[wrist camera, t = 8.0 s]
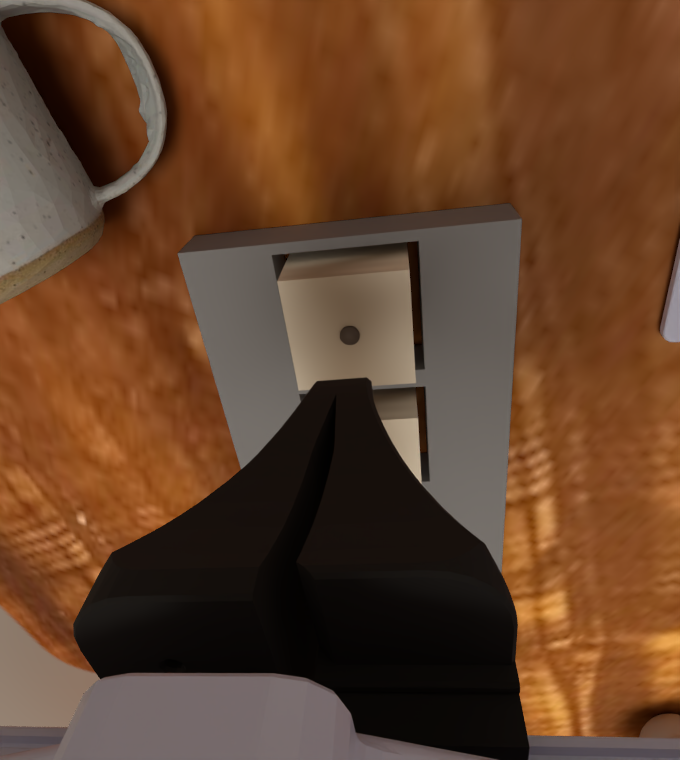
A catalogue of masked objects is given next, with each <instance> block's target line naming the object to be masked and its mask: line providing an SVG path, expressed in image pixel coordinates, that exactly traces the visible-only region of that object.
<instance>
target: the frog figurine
mask: <svg viewBox="0 0 680 760" xmlns="http://www.w3.org/2000/svg"><path fill="white" fill-rule="evenodd" d="M639 737H641V738H680V715H678V714H661V715H658V716H655V717H653V718H652V719H650V720H649V721H648V722H647V723H646V724H645V725H644V727H643V728H642V730H641V733H640V736H639Z"/></svg>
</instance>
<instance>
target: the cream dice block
mask: <svg viewBox="0 0 680 760" xmlns="http://www.w3.org/2000/svg"><path fill="white" fill-rule="evenodd" d="M373 397H374V403H375V406H376V409H377V411H378V414H379V416H380V418H381V421H382V423H383V425H384V427H385V429H386V431H387V433H388V435H389V437H390V439H391V441H392V442H393V444H394V446H395V448H396V449H397V451H398V453H399V454H400V456H401V457H402V459H403V460H404V462H405V463H406V465H407V466H408V467H409V469H410V470H411V472H412V473H413V474H414V475H415V477H416V478H417V479H418V480H419V482H420V483H421V484H422V481H421V463H420V445H419V428H418V413H417V401H416V388H415V387H407V388H391V389H375V390H373Z"/></svg>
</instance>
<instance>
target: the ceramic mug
mask: <svg viewBox="0 0 680 760" xmlns="http://www.w3.org/2000/svg"><path fill="white" fill-rule="evenodd" d="M40 12H53V13H63V14H71V15H75V16H78V17H81V18H84V19H87V20H90V21H91V22H93V23H95V25H96V26H98V27H101V28H103V29H104V30H106V31H107V32H108V33H109V34H110V35H111V36H112V37H113V39H114V40H115V41H116V43H117V44H118V46H119V47H120V50H121V52H122V54H123V56H124V58H125V60H126V63H127V65H128V67H129V69H130V72H131V74H132V77H133V79H134V82H135V84H136V87H137V90H138V93H139V97H140V101H141V102H140V108H139V112H140V114H141V116H142V117H143V119H144V121H145V122H146V123H147V136H148V139H149V143H148V145H147V147H146V149H145V151H144V153H143V155H142V157H141V158H140V160H139V161H138V163H136V164H135V165H134V166H133V167H132V168H131V170H130V171H128V172H127V173H126V174H124V175H123V176H121V177H120V178H119V179H118V180H116V181H114V182H112V183H109V184H107V185H105V186H102V187H95V186H93V184H92V182H91V180H90V179H89V177H88V175H87V173H86V172H85V170H84V168H83V166H82V164H81V162H80V161H79V160H78V157H77V156H76V155H75V153H74V152H73V150H72V149H71V148H70V146H69V144H68V142H67V140H66V138H65V136H64V135H63V133H62V131H61V130H59V128H58V127H57V125H56V123H55V121H54V119H53V118H52V116H51V115H50V112H49V110H48V109H47V107H46V105H45V103H44V101H43V99H42V98H41V96H40V95H39V93H38V91H37V89H36V87H35V85H34V84H33V82H32V80H31V78H30V76H29V74H28V73H27V71H26V69H25V68H24V66H23V64H22V62H21V60H20V59H19V57H18V53H17V52H16V51H15V49H14V48H13V46H12V44H11V43H10V41H9V40H8V38H7V36H6V34H5V32H4V29H3V28H2V27H1V21H3V20H4V19H6V18H7V17H12V16H17V15H21V14H29V13H40ZM166 128H167V109H166V103H165V98H164V95H163V91H162V88H161V84H160V81H159V78H158V75H157V73H156V71H155V69H154V66H153V64H152V62H151V59H150V57H149V55H148V54H147V52H146V50H145V49H144V47H143V46H142V44H141V42H140V41H139V39H138V38H137V36H136V35H135V34H134V33H133V32H132V31H131V29H129V28H128V27H127V26H126V25H125V24H123V23H122V22H121V21H120V20H119V19H117V18H116V17H115V16H114V15H113V14H112V13H110V12H109V11H107V10H105V9H103V8H101V7H99V6H97V5H95V4H93V3H91V2H89V1H87V0H0V304H1V303H3V302H5V301H7V300H9V299H11V298H13V297H15V296H17V295H19V294H21V293H22V292H24V291H26V290H28V289H30V288H31V287H33V286H35V285H37V284H39V283H40V282H42V281H44V280H46V279H47V278H49V277H51V276H52V275H54V274H55V273H57V272H59V271H60V270H62V269H63V268H65V267H67V266H68V265H70V264H71V263H72V262H74V261H75V260H77V259H78V258H80V257H81V256H82V255H84V254H85V253H86V252H88V251H89V250H90V249H91V248H92V247H93V246H94V245H95V244H96V243H97V242H98V241H99V239H100V237H101V236H102V233H103V228H104V222H105V218H104V213H103V210H102V207H103V205H104V203H105V202H106V201H108V200H111V199H113V198H115V197H117V196H119V195H121V194H123V193H125V192H127V191H128V190H129V189H130V188H132V187H133V186H134V185H136V184H137V183H138V182H139V181H140V180H141V179H142V178H144V177H145V176H146V174H147V173H148V172H149V171H150V170H151V169H152V167H153V166H154V164H155V163H156V161H157V160H158V158H159V156H160V153H161V151H162V149H163V145H164V141H165V137H166Z"/></svg>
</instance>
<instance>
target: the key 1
mask: <svg viewBox="0 0 680 760" xmlns="http://www.w3.org/2000/svg"><path fill="white" fill-rule="evenodd" d="M277 284H278V289H279V294H280V299H281V304H282V309H283V314H284V319H285V324H286V329H287V334H288V339H289V344H290V349H291V354H292V359H293V364H294V369H295V374H296V380H297V385H298V390H299V391H300V390H310V389H311V387H312V386H313V385H314V384H315V383H316V381H323V380H337V379H350V378H364V377H367V378H368V379H369V380H371V381H372V386H379V385H395V384H411V383H416V375H415V357H414V340H413V322H412V305H411V287H410V270H409V259H408V249H407V242H402V243H392V244H382V245H371V246H361V247H351V248H340V249H330V250H320V251H310V252H299V253H290V254H289V256H288V258H287V260H286V263H285V265H284V267H283V269H282V272H281V274H280V276H279V278H278V281H277Z"/></svg>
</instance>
